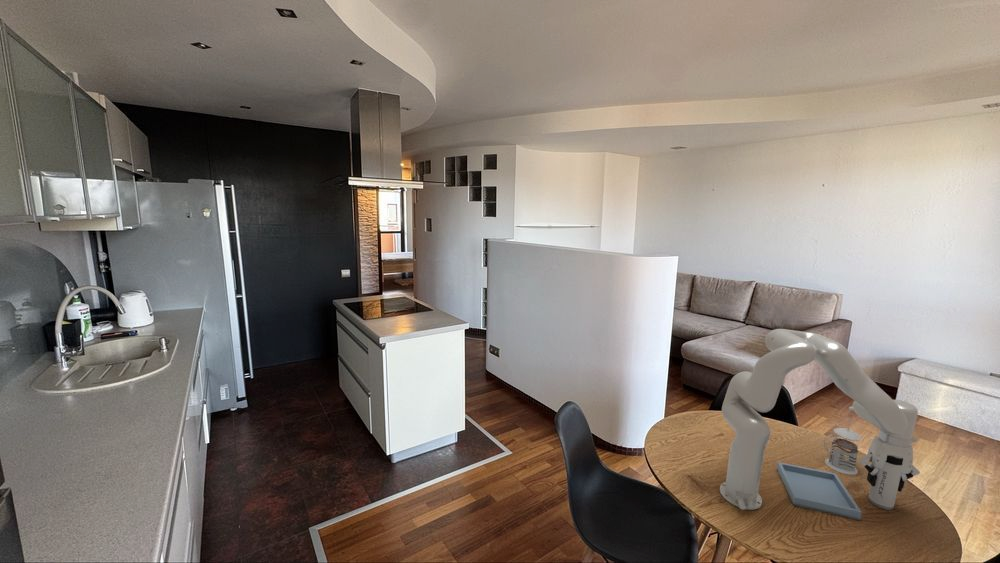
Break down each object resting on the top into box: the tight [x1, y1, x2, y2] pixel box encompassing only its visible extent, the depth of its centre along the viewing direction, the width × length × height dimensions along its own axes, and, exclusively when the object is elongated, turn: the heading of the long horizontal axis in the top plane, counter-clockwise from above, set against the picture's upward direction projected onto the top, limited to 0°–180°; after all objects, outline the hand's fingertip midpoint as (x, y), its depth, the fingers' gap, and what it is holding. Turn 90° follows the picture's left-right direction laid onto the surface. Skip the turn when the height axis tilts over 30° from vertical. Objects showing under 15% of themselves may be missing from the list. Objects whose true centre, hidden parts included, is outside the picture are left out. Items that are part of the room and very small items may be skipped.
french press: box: [823, 406, 862, 476], centre depth 152 cm, size 10×12×25 cm
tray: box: [776, 461, 862, 521], centre depth 140 cm, size 20×18×3 cm
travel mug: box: [868, 455, 903, 511], centre depth 134 cm, size 6×7×20 cm
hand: (884, 485), depth 134 cm, fingers closed on travel mug, 6 cm apart
